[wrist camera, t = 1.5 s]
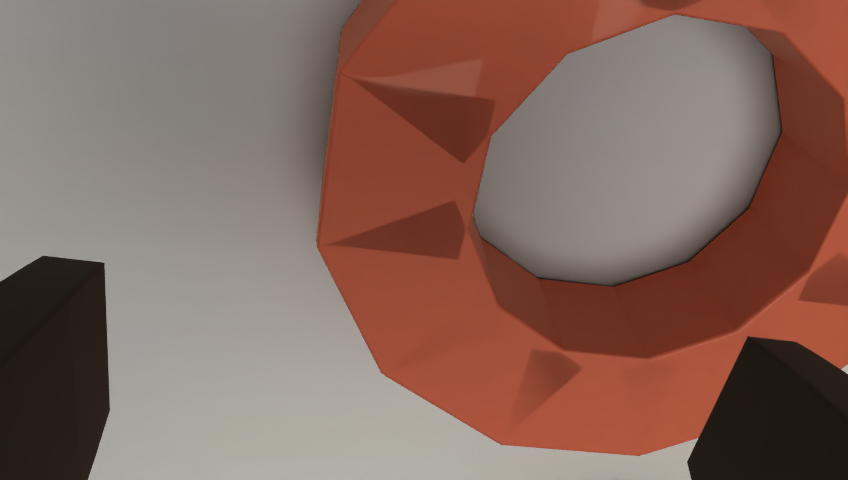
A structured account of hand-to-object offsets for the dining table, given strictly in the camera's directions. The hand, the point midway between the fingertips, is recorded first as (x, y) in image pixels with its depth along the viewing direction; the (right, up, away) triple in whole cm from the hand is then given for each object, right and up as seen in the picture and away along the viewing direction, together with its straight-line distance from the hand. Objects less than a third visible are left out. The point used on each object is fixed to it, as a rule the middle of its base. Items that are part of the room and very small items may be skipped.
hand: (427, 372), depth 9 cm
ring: (+4, +3, +8) cm, 10 cm away
